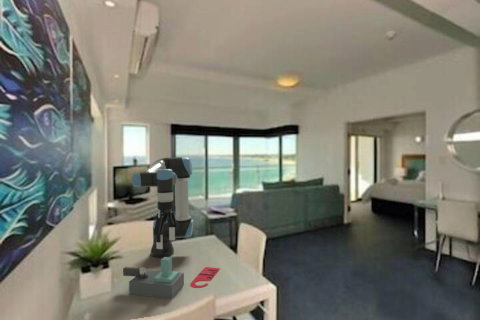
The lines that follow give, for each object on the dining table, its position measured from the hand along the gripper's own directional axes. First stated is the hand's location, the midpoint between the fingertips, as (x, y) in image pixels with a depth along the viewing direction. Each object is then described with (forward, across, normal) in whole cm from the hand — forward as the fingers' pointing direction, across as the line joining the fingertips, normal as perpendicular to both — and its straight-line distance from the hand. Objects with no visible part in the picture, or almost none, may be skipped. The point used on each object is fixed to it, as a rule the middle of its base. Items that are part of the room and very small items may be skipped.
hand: (166, 244), depth 137 cm
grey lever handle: (+16, +2, -16) cm, 23 cm away
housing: (+23, 0, -5) cm, 23 cm away
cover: (+17, 0, 0) cm, 17 cm away
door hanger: (+23, -17, +14) cm, 32 cm away
